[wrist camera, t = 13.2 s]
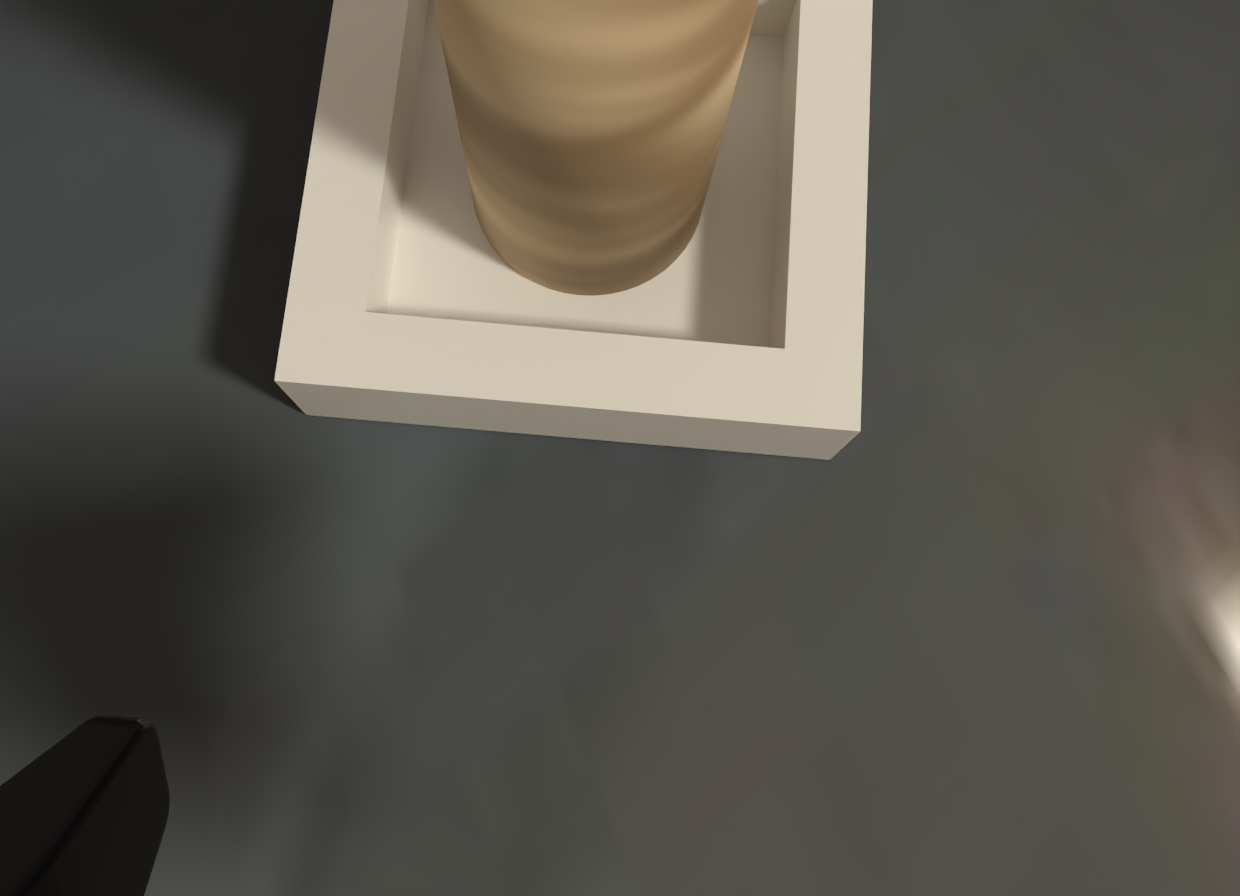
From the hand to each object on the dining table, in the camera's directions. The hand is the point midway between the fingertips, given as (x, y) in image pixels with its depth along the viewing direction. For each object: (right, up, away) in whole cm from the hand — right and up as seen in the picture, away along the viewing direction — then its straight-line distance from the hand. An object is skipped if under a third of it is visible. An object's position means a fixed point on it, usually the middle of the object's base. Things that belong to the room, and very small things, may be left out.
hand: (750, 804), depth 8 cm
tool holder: (-2, +8, +16) cm, 18 cm away
